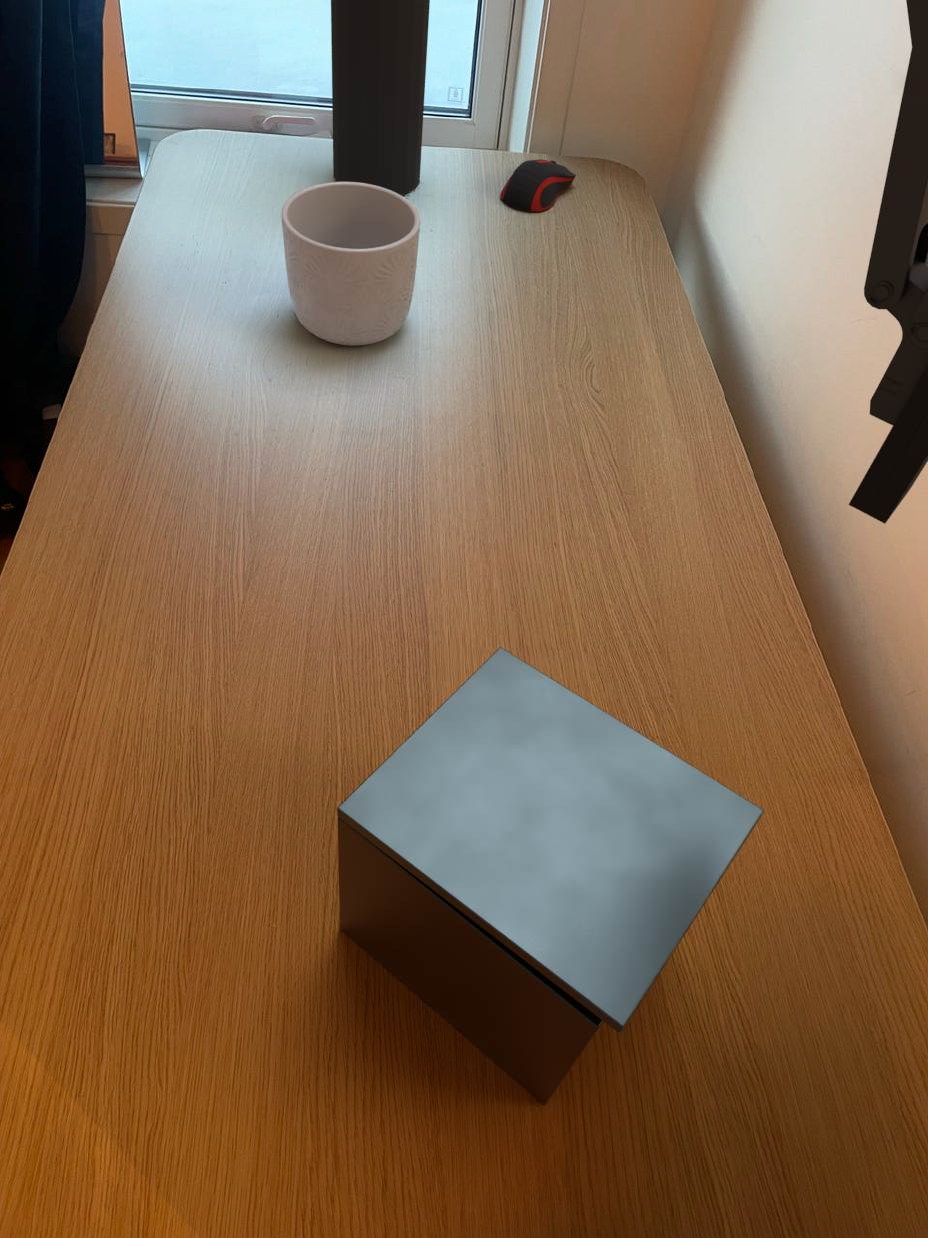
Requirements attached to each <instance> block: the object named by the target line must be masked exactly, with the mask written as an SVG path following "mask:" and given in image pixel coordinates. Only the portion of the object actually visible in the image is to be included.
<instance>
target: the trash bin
mask: <svg viewBox="0 0 928 1238" xmlns="http://www.w3.org/2000/svg"><path fill="white" fill-rule="evenodd" d="M337 854H338V855H337V860H338V863H337V864H338V906H339V909H338V911H339V930H340V931H341V932H342V933H343V934H344V935H346V936H347V937H348V938H349V939H350V940H352V942H354V943H355V944H356V945H357V946H358V947H360V948H361V949H362V950H363V951H364V952H365V953H367V954H368V955H369V956H370V957H371V958H372V959H373V960H375V961H376V962H377V963H378V964H379V965H381V966H382V967H383V968H384V969H385V970H386V971H387V972H388V973H390V974H391V975H392V976H393V977H395V979H396V980H398V981H399V982H400V983H401V984H403V985H404V986H405V987H406V988H407V989H408V990H409V991H411V992H412V993H413V994H415V996H416V997H418V998H419V999H420V1000H421V1001H422V1003H423V1002H424V1004H425V1005H427V1006H428V1007H429V1008H430V1009H431V1010H433V1011H434V1012H435V1013H436V1014H437V1015H438V1016H440V1017H441V1018H442V1019H443V1020H444V1021H445V1022H447V1023H448V1024H449V1025H450V1026H451V1027H452V1028H454V1030H455V1031H457V1032H458V1033H459V1034H461V1036H463V1037H464V1038H465V1039H466V1040H467V1041H469V1042H470V1043H471V1044H472V1045H473V1046H474V1047H476V1048H477V1049H478V1051H480V1052H481V1053H483V1054H484V1055H485V1056H486V1057H487V1058H488V1059H489V1060H491V1061H492V1062H493V1063H494V1064H495V1066H497V1067H499V1068H500V1069H501V1070H502V1071H504V1072H505V1074H507V1075H508V1076H509V1077H510V1078H511V1079H512V1080H514V1081H515V1082H516V1083H517V1084H518V1085H519V1086H521V1087H522V1088H523V1089H525V1091H526V1092H528V1094H530V1095H531V1096H532V1097H533V1098H534V1099H536V1100H537V1101H538V1102H539V1103H541V1105H543V1106H544V1107H545V1106H546V1105H547V1104H548V1102H549V1101H550V1099H551V1098H552V1096H553V1095H554V1094H555V1092H556V1090H557V1089H558V1088H559V1086H560V1085H561V1084H562V1082H563V1080H564V1079H565V1078H566V1077H567V1075H568V1073H569V1072H570V1070H571V1069H572V1068H573V1066H574V1065H575V1063H576V1062H577V1060H578V1059H579V1057H580V1056H581V1055H582V1053H583V1052H584V1051H585V1049H586V1048H587V1046H588V1045H589V1043H590V1042H591V1040H592V1039H593V1037H594V1036H595V1035H596V1033H597V1031H598V1030H599V1029H600V1027H601V1026H602V1024H603V1023H604V1021H603V1020H601V1019H600V1018H599V1017H597V1016H596V1015H595V1014H594V1013H592V1012H591V1011H590V1010H588V1009H587V1008H586V1007H584V1006H583V1005H582V1004H581V1003H579V1002H578V1001H577V1000H575V999H574V998H573V997H571V996H570V995H569V994H568V993H566V992H565V991H564V990H562V989H561V988H560V987H558V986H557V985H556V984H555V983H553V982H552V981H551V980H549V979H548V978H547V977H546V976H544V975H543V974H542V973H540V972H539V971H538V970H536V969H535V968H534V967H533V966H531V965H530V964H529V963H527V962H526V961H525V960H523V959H522V958H521V957H520V956H518V955H517V954H516V953H514V952H513V951H512V950H510V949H509V948H508V947H507V946H505V945H504V944H503V943H501V942H500V941H499V940H497V939H496V938H495V937H494V936H492V935H491V934H490V933H488V932H487V931H486V930H485V929H483V928H482V927H481V926H479V925H478V924H477V923H475V922H474V921H473V920H472V919H470V918H469V917H468V916H466V915H465V914H464V913H462V912H461V911H460V910H459V909H457V908H456V907H455V906H453V905H452V904H451V903H449V902H448V901H447V900H446V899H444V898H443V897H442V896H440V895H439V894H438V893H436V892H435V891H434V890H433V889H431V888H430V887H429V886H427V885H426V884H425V883H424V882H422V881H421V880H420V879H418V878H417V877H416V876H414V875H413V874H412V873H411V872H409V871H408V870H407V869H405V868H404V867H403V866H401V865H400V864H399V863H398V862H396V861H395V860H394V859H392V858H391V857H390V856H388V855H387V854H386V853H385V852H383V851H382V850H381V849H379V848H378V847H377V846H375V845H374V844H373V843H372V842H370V841H369V840H368V839H366V838H365V837H364V836H363V835H361V834H360V833H359V832H357V831H356V830H355V829H353V828H352V827H351V826H350V825H348V824H347V823H346V822H344V821H343V820H342V819H340V818H339V817H338V816H337Z"/></svg>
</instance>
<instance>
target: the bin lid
mask: <svg viewBox="0 0 928 1238" xmlns="http://www.w3.org/2000/svg"><path fill="white" fill-rule="evenodd" d="M336 812H337V818H338V817H339V818H340V819H342V820H343V821H344V822H346V823H347V824H348V825H350V826H351V827H352V828H353V829H355V830H356V831H357V832H359V833H360V834H361V835H363V836H364V837H365V838H366V839H368V840H369V841H370V842H372V843H373V844H374V845H375V846H377V847H378V848H379V849H381V850H382V851H383V852H385V853H386V854H387V855H388V856H390V857H391V858H392V859H394V860H395V861H396V862H398V863H399V864H400V865H401V866H403V867H404V868H405V869H407V870H408V871H409V872H411V873H412V874H413V875H414V876H416V877H417V878H418V879H420V880H421V881H422V882H424V883H425V884H426V885H427V886H429V887H430V888H431V889H433V890H434V891H435V892H436V893H438V894H439V895H440V896H442V897H443V898H444V899H446V900H447V901H448V902H449V903H451V904H452V905H453V906H455V907H456V908H457V909H459V910H460V911H461V912H462V913H464V914H465V915H466V916H468V917H469V918H470V919H472V920H473V921H474V922H475V923H477V924H478V925H479V926H481V927H482V928H483V929H485V930H486V931H487V932H488V933H490V934H491V935H492V936H494V937H495V938H496V939H497V940H499V941H500V942H501V943H503V944H504V945H505V946H507V947H508V948H509V949H510V950H512V951H513V952H514V953H516V954H517V955H518V956H520V957H521V958H522V959H523V960H525V961H526V962H527V963H529V964H530V965H531V966H533V967H534V968H535V969H536V970H538V971H539V972H540V973H542V974H543V975H544V976H546V977H547V978H548V979H549V980H551V981H552V982H553V983H555V984H556V985H557V986H558V987H560V988H561V989H562V990H564V991H565V992H566V993H568V994H569V995H570V996H571V997H573V998H574V999H575V1000H577V1001H578V1002H579V1003H581V1004H582V1005H583V1006H584V1007H586V1008H587V1009H588V1010H590V1011H591V1012H592V1013H594V1014H595V1015H596V1016H597V1017H599V1018H600V1019H601V1020H603V1023H605V1024H607V1025H608V1026H609V1027H610V1028H612V1029H613V1030H614V1031H615V1032H617V1033H618V1034H621V1033H623V1031H624V1030H625V1028H626V1026H627V1025H628V1023H629V1022H630V1020H631V1018H632V1017H633V1016H634V1015H635V1012H636V1011H637V1009H638V1008H639V1006H640V1005H641V1004H642V1002H643V1000H644V998H645V997H646V995H647V994H648V992H649V991H650V989H651V988H652V986H653V985H654V984H655V982H656V980H657V978H658V977H659V975H660V974H661V972H662V971H663V970H664V967H666V965H667V963H668V962H669V960H670V958H671V957H672V955H673V954H674V952H675V951H676V950H677V948H678V946H679V945H680V943H681V942H682V940H683V938H684V937H685V935H686V934H687V932H688V931H689V929H690V928H691V926H692V925H693V923H694V921H695V920H696V918H697V917H698V916H699V913H700V912H701V911H702V909H703V907H704V906H705V904H707V902H708V900H709V899H710V897H711V896H712V894H713V892H714V890H715V889H716V887H717V886H718V884H719V883H720V882H721V880H722V878H723V876H724V875H725V874H726V872H727V870H728V869H729V868H730V866H731V864H732V863H733V861H734V859H735V858H736V856H737V855H738V854H739V853H740V850H741V849H742V847H743V846H744V845H745V843H746V841H747V840H748V838H749V836H750V835H751V834H752V832H753V831H754V829H755V827H756V826H757V824H758V822H759V821H760V820H761V818H762V816H763V815H764V809H762V808H761V807H760V806H758V805H757V804H755V803H753V802H751V800H748V799H747V798H745V797H744V796H742V795H740V794H738V793H737V792H735V791H734V790H733V789H730V788H729V787H727V786H726V785H724V784H723V783H721V782H719V781H718V780H717V779H715V778H713V777H711V776H709V774H707V773H705V772H703V771H701V770H700V769H698V768H697V767H695V766H694V765H692V764H690V763H689V762H687V761H686V760H683V759H682V758H681V757H679V756H677V755H676V754H674V753H673V752H671V751H669V750H668V749H666V748H664V747H662V746H661V745H660V744H658V743H657V742H655V741H653V740H651V738H649V737H647V736H645V735H643V734H642V733H641V732H639V731H637V730H635V729H634V728H632V727H631V726H629V725H628V724H626V723H624V722H623V721H621V720H619V719H618V718H616V717H615V716H613V715H611V714H610V713H608V712H606V711H605V710H603V709H601V708H600V707H598V706H596V705H595V704H594V703H592V702H590V701H589V700H587V699H585V698H584V697H582V696H581V695H579V694H577V693H576V692H574V691H573V690H571V689H569V688H568V687H566V686H564V685H563V684H561V683H560V682H558V681H557V680H555V679H553V678H551V677H550V676H548V675H547V674H545V673H543V672H542V671H540V670H539V669H537V668H536V667H534V666H533V665H530V664H529V663H527V662H526V661H524V660H523V659H521V658H519V657H518V656H516V655H515V654H513V653H511V652H510V651H508V650H507V649H505V648H503V646H502V647H498V649H497V650H495V652H494V653H493V654H492V655H490V657H488V659H487V660H486V661H484V662H483V664H481V665H480V666H479V667H478V669H477V670H475V672H473V673H472V674H471V675H470V676H469V677H468V678H467V679H466V680H465V681H464V682H463V683H462V684H461V685H460V686H459V687H458V688H457V689H456V690H455V691H454V692H453V693H452V694H451V695H450V696H449V697H448V698H447V699H446V700H445V701H444V702H443V703H442V704H441V705H440V706H439V707H438V708H437V709H436V710H435V711H434V712H433V713H431V714H430V716H429V717H428V718H427V719H426V720H425V721H423V723H422V724H421V725H419V726H418V728H417V729H415V731H413V732H412V733H411V734H410V736H408V737H407V738H406V739H405V741H403V743H401V744H400V745H399V746H398V747H397V748H396V749H395V750H394V751H393V752H392V753H391V754H390V755H389V756H388V757H387V758H386V759H385V760H384V761H383V762H382V763H381V764H380V765H379V766H378V767H377V768H376V769H375V770H374V771H373V772H372V773H371V774H370V775H369V776H368V777H367V778H366V779H364V781H362V783H361V784H360V785H359V786H358V787H357V788H356V789H355V790H353V792H352V793H351V794H350V795H348V797H346V799H345V800H343V801H342V802H341V803H340V804H339V805H338V806H337V808H336Z"/></svg>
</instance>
